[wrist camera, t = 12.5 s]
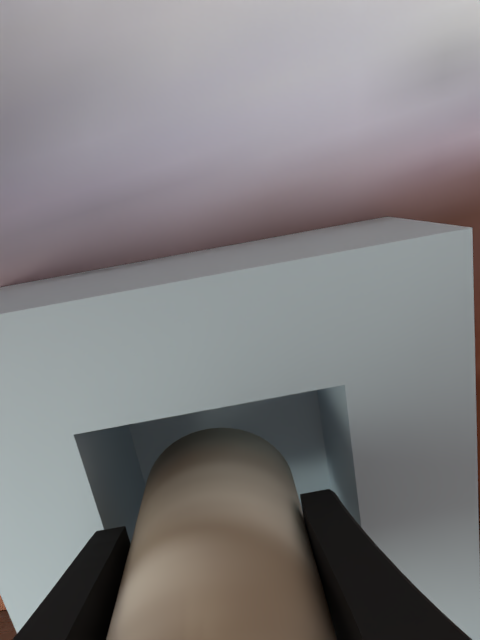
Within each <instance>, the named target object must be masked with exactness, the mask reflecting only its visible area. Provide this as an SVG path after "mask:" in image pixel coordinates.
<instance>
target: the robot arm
mask: <svg viewBox="0 0 480 640" xmlns="http://www.w3.org/2000/svg"><path fill="white" fill-rule="evenodd" d="M300 498H301V504H302V511H303V517H304V521H305V525H306V529H307V532H308V536H309V540H310V544H311V547H312V551H313V555H314V558H315V562H316V565H317V568H318V572H319V575H320V578H321V582H322V586H323V589H324V593H325V597H326V600H327V604H328V608H329V611H330V615H331V619H332V622H333V626H334V630H335V634H336V637H337V640H472V639H471V638H470V637H469V636H468V635H467V634H465V633H464V632H463V631H462V630H461V629H460V628H459V627H458V626H457V625H455V624H454V623H453V622H452V621H451V620H450V619H449V618H448V617H447V616H446V615H445V614H444V613H442V612H441V611H440V610H439V609H438V608H437V607H436V606H435V605H434V604H433V603H432V602H431V601H430V600H429V599H428V598H427V597H426V596H425V595H424V594H423V593H422V592H421V591H420V590H419V589H418V588H417V587H416V586H415V585H414V584H413V583H412V582H411V581H410V580H409V579H408V578H407V577H406V576H405V575H404V574H403V573H402V572H401V571H400V570H399V569H398V568H397V567H396V566H395V564H394V563H393V562H392V561H391V560H390V559H389V558H388V557H387V556H386V555H385V554H384V553H383V552H382V551H381V549H380V548H379V547H378V546H377V545H376V544H375V543H374V542H373V540H372V539H371V538H370V537H369V536H368V535H367V534H366V532H365V531H364V530H363V529H362V528H361V526H360V525H359V524H358V523H357V522H356V520H355V519H354V518H353V517H352V515H351V514H350V513H349V511H348V510H347V509H346V508H345V506H344V505H343V503H342V502H341V501H340V499H339V498H338V496H337V495H336V493H335V492H333V491H332V490H330V489H326V490H320V491H314V492H309V493H303V494H300ZM130 545H131V543H130V540H129V537H128V534H127V530H126V527H125V526H122V527H116V528H111V529H105V530H100V531H96V532H95V533H94V534H93V536H92V537H91V538H90V540H89V541H88V542H87V543H86V545H85V546H84V547H83V549H82V550H81V551H80V553H79V554H78V555H77V557H76V558H75V559H74V561H73V562H72V563H71V565H70V566H69V567H68V569H67V570H66V571H65V573H64V574H63V575H62V576H61V578H60V579H59V580H58V582H57V583H56V584H55V586H54V587H53V588H52V590H51V591H50V592H49V594H48V595H47V596H46V598H45V599H44V600H43V601H42V603H41V604H40V605H39V606H38V608H37V609H36V610H35V612H34V613H33V614H32V615H31V617H30V618H29V619H28V621H27V622H26V623H25V624H24V626H23V627H22V628H21V630H20V631H19V632H18V633H17V634H16V636H15V637H14V638H13V639H12V640H106V638H107V634H108V630H109V626H110V622H111V618H112V615H113V611H114V607H115V603H116V599H117V595H118V591H119V587H120V584H121V580H122V576H123V572H124V568H125V564H126V560H127V556H128V553H129V549H130Z"/></svg>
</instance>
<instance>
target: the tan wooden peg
mask: <svg viewBox="0 0 480 640" xmlns="http://www.w3.org/2000/svg"><path fill="white" fill-rule="evenodd" d="M106 640H337V637H336V634H335V630H334V626H333V622H332V619H331V615H330V611H329V608H328V604H327V600H326V597H325V593H324V589H323V586H322V582H321V578H320V575H319V572H318V568H317V565H316V562H315V558H314V555H313V551H312V547H311V544H310V540H309V536H308V532H307V529H306V525H305V521H304V517H303V512H302V508H301V505H300V501H299V497H298V494H297V490H296V486H295V483H294V479H293V476H292V473H291V470H290V467H289V465H288V464H287V462H286V460H285V459H284V457H283V456H282V454H281V453H280V452H279V451H278V450H277V449H276V448H275V447H274V446H273V445H271V444H270V443H269V442H268V441H266V440H264V439H263V438H261V437H259V436H257V435H255V434H252V433H250V432H247V431H243V430H239V429H233V428H210V429H205V430H200V431H197V432H194V433H191V434H188V435H186V436H184V437H182V438H180V439H179V440H177V441H175V442H174V443H173V444H171V445H170V446H169V447H168V448H166V449H165V450H164V451H163V453H162V454H161V455H160V456H159V457H158V459H157V460H156V461H155V463H154V465H153V467H152V469H151V471H150V473H149V476H148V479H147V483H146V487H145V491H144V494H143V498H142V502H141V506H140V510H139V514H138V518H137V522H136V525H135V529H134V533H133V537H132V541H131V545H130V549H129V553H128V556H127V560H126V564H125V568H124V572H123V576H122V580H121V584H120V587H119V591H118V595H117V599H116V603H115V607H114V611H113V615H112V618H111V622H110V626H109V630H108V634H107V638H106Z"/></svg>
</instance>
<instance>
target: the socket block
mask: <svg viewBox="0 0 480 640" xmlns="http://www.w3.org/2000/svg"><path fill="white" fill-rule="evenodd" d="M210 428H233V429H239V430H243V431H247V432H250V433H252V434H255V435H257V436H259V437H261V438H263V439H264V440H266V441H268V442H269V443H270V444H271V445H273V446H274V447H275V448H276V449H277V450H278V451H279V452H280V453H281V454H282V456H283V457H284V459H285V460H286V462H287V464H288V465H289V467H290V470H291V473H292V476H293V479H294V483H295V486H296V490H297V494H298V497H299V501H300V505H301V508H302V504H301V498H300V494H303V493H309V492H314V491H320V490H326V489H330V490H332V491H333V492H335V493H336V495H337V496H338V498H339V499H340V501H341V502H342V503H343V505H344V506H345V508H346V509H347V510H348V511H349V513H350V514H351V515H352V517H353V518H354V519H355V520H356V522H357V523H358V524H359V525H360V526H361V528H362V529H363V530H364V531H365V532H366V534H367V535H368V536H369V537H370V538H371V539H372V540H373V542H374V543H375V544H376V545H377V546H378V547H379V548H380V549H381V551H382V552H383V553H384V554H385V555H386V556H387V557H388V558H389V559H390V560H391V561H392V562H393V563H394V564H395V566H396V567H397V568H398V569H399V570H400V571H401V572H402V573H403V574H404V575H405V576H406V577H407V578H408V579H409V580H410V581H411V582H412V583H413V584H414V585H415V586H416V587H417V588H418V589H419V590H420V591H421V592H422V593H423V594H424V595H425V596H426V597H427V598H428V599H429V600H430V601H431V602H432V603H433V604H434V605H435V606H436V607H437V608H438V609H439V610H440V611H441V612H442V613H444V614H445V615H446V616H447V617H448V618H449V619H450V620H451V621H452V622H453V623H454V624H455V625H457V626H458V627H459V628H460V629H461V630H462V631H463V632H464V633H465V634H467V635H468V636H469V637H470V638H471V639H472V640H480V553H479V508H478V462H477V417H476V372H475V326H474V281H473V235H472V227H464V226H456V225H449V224H441V223H434V222H426V221H418V220H411V219H403V218H395V217H388V216H387V217H382V218H376V219H371V220H366V221H360V222H355V223H349V224H344V225H338V226H333V227H327V228H322V229H316V230H311V231H305V232H300V233H294V234H289V235H283V236H278V237H272V238H267V239H262V240H256V241H251V242H245V243H240V244H234V245H229V246H223V247H218V248H212V249H207V250H201V251H196V252H190V253H185V254H179V255H174V256H169V257H163V258H158V259H152V260H147V261H141V262H136V263H130V264H125V265H119V266H114V267H108V268H103V269H97V270H92V271H86V272H81V273H76V274H70V275H65V276H59V277H54V278H48V279H43V280H37V281H32V282H26V283H21V284H15V285H10V286H4V287H0V595H1V597H2V599H3V602H4V604H5V606H6V609H7V611H8V613H9V616H10V618H11V621H12V623H13V625H14V628H15V630H16V632H17V633H18V632H19V631H20V630H21V628H22V627H23V626H24V624H25V623H26V622H27V621H28V619H29V618H30V617H31V615H32V614H33V613H34V612H35V610H36V609H37V608H38V606H39V605H40V604H41V603H42V601H43V600H44V599H45V598H46V596H47V595H48V594H49V592H50V591H51V590H52V588H53V587H54V586H55V584H56V583H57V582H58V580H59V579H60V578H61V576H62V575H63V574H64V573H65V571H66V570H67V569H68V567H69V566H70V565H71V563H72V562H73V561H74V559H75V558H76V557H77V555H78V554H79V553H80V551H81V550H82V549H83V547H84V546H85V545H86V543H87V542H88V541H89V540H90V538H91V537H92V536H93V534H94V533H95V532H96V531H100V530H105V529H111V528H116V527H122V526H125V527H126V530H127V534H128V537H129V540H130V543H131V541H132V537H133V533H134V529H135V525H136V522H137V518H138V514H139V510H140V506H141V502H142V498H143V494H144V491H145V487H146V483H147V479H148V476H149V473H150V471H151V469H152V467H153V465H154V463H155V461H156V460H157V459H158V457H159V456H160V455H161V454H162V453H163V451H164V450H165V449H166V448H168V447H169V446H170V445H171V444H173V443H174V442H175V441H177V440H179V439H180V438H182V437H184V436H186V435H188V434H191V433H194V432H197V431H200V430H205V429H210ZM302 512H303V511H302Z"/></svg>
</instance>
